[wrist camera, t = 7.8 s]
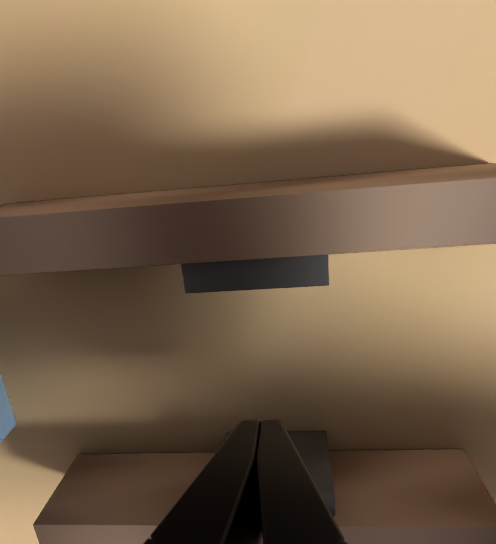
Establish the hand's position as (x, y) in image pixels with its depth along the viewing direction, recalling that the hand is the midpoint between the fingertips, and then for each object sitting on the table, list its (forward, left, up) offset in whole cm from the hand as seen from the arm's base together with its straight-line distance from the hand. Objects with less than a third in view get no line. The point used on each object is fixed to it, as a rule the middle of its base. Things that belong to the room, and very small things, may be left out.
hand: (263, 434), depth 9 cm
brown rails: (0, 0, -3) cm, 3 cm away
